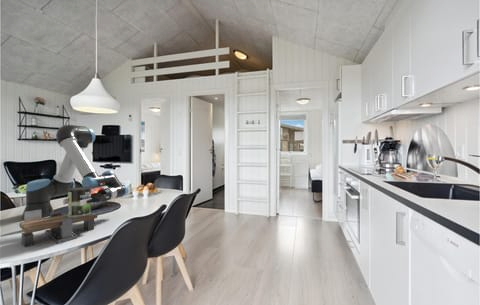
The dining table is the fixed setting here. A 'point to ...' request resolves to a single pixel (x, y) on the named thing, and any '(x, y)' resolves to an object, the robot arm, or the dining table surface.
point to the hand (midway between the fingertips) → (71, 202)
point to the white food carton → (32, 215)
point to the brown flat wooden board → (52, 222)
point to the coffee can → (78, 201)
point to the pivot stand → (58, 231)
